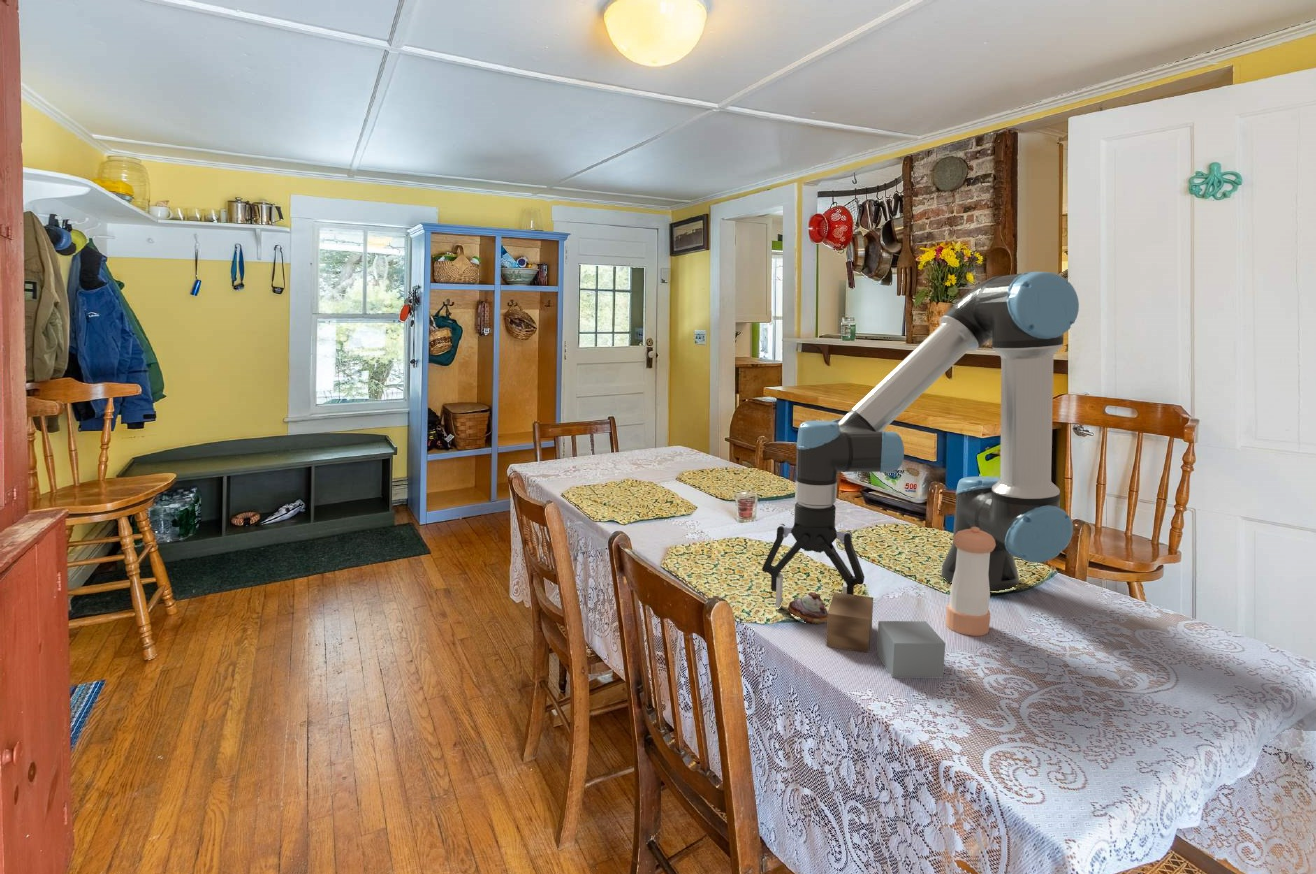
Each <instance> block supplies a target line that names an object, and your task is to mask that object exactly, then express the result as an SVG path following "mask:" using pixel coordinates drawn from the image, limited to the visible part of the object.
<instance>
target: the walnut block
mask: <svg viewBox="0 0 1316 874" xmlns="http://www.w3.org/2000/svg"><path fill="white" fill-rule="evenodd" d="M831 598H832V599H831V602H830V604H829V607H828V610H827V612H828V616H827V622H826V641H825V644H826V645H825V646H826V647H830V648H831V647H832V648H835V649H836V648H837V649H844V650H848V651H855V652H856V651H857V652H862V653H867V654H868V653H869V649H870V643H871V642H870V641H871V635H872V629H873V626H872V625H873V612H874V611H873V610H874V597H872V596H864V595H857V594H854V595H851V594H843V593H842V592H837V591H836V592H833V595H832V597H831Z"/></svg>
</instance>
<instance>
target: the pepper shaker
mask: <svg viewBox="0 0 1316 874" xmlns="http://www.w3.org/2000/svg"><path fill="white" fill-rule="evenodd" d="M953 542H954V545H955V547H957V556H956V568H955V572H954V576H953V580H952V584H950V591H949V593H950V594H949V603H948V604H947V606H946V617H945V618H946V619H945V625H946V626H947V628H948V629H950V630H952V631H953V632H956V633H958V634H961V635H966V636H972V637H973V636H975V637H976V636H984V635H986V634H988V633H989V632H990V621H991V612H990V610H989V609H990V608H989V606H990V599H991V593H990V588H989V576H988V572H989V559H990V552H992V551H993V550H994V548H995V546H996V543H995V540H994V538H993V536H992V535H990V534H988V533H986V532H984V531H981V530H980V529H979V528H978V527H971V529H965V530H961V531H958V532H957V533H956V534H955V535H954V538H953V537H952V543H953Z"/></svg>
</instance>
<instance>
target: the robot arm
mask: <svg viewBox="0 0 1316 874" xmlns="http://www.w3.org/2000/svg"><path fill="white" fill-rule="evenodd" d="M1077 294H1078V293H1077V292H1076V290H1075V287H1074V285H1072V283H1071V282H1069V281H1068V280H1067V279H1066V278H1065V277H1063V276H1062V275H1060V274H1058V273H1055V272H1050V271H1032V270H1031V271H1028V272H1022V273H1021V272H1020V273H1016V274H1014V273H1013V274H1007V275H1005V274H1003V275H997V276H994V277H990V278H988V279H986V280H984V281H982V282H981V283H979V284H977V285H976V286H975V287H973V288H972V289H971V290H970V291H968V292H967V293H965V294H964V295H963V296H962V298H960V299H959V300H958V301H957V302H956V303H954V305H952V306H951V308H949V310H947V311H946V312H945V313H944V314H943V315H942V316H941V317H940V318H939V326H937V328H935V330H934V331H932V332H931V334H929V335H928V336H927V337H926V338H925V339H924V340H922V342H921V343H920V344H919V345H918V346H917V347H916V348H915V349H913V351H911V352H910V353H909V354H908V355H907V356H906V357H905V358H904V359H903V360H902V361H901V362H900V363H899V364H898V365H897V366H896V367H895V368H893V370H891V371H890V372H889V373H888V374H887V375H886V376H885V377H884V378H883V379H882V380H881V381H880V382H879V383H877V384H876V385H875V386H874V387H873V388H872V390H870V391H869V392H868V393H867V394H866V395H865V396H864V397H863V398H862V399H861V400H859V402H857V403H856V405H855V406H853V408H851V409H850V410H849V411H848V412H847V413H846V414H845V415H844V416H843V417H841V418H837V419H836V418H835V419H833V420H818V419H817V420H806V421H803V422H801V423H800V424H799V427H798V432H797V440H796V476H795V477H796V478H795V490H794V491H795V496H794V497H795V498H794V499H795V501H796V503H795V504H794V519H793V520H794V521H793V526H788V525H786V524H784V523H780V524H779V526H778V527H777V529H776V539H775V541H774V543H773V544H772V546H771V549H770V550H769V553H768V555H767V556H766V558H765V561H764V563H763V566H762V567H761V570H762V572H764V573H768V574H769V575H770V589H771V592H776V593H775V608H776V607H778V608H779V607H780V605H781V603H782V604H783V587H784V584H783V583H784V581H783V580H784V573H782V572H781V571H782V570H783V569H784V568H785V567H786V566H787V564H789V562H790V561H791V560H792V559H793V558H794V556H795V555H796V554H797V553H798V552H799V551H800V550H801V549H802V550H804V552H814V553H820V554H821V553H822V552H824V554H825V555H826V556H827V558H829V559H830V561H831V563H832V564H833V566H834V567H835V569H836V570H837V572H838V573H839V575H840V576H841V577H842V579H843V584H842V592H841V593H843V594H851V595H855V594H854V593H855V586H857V585H863V584H864V582H865V574H864V572H863V569H862V567H861V566H862V565H861V564H860V561H859V558H858V554H857V553H856V550H855V547H854V545H853V539H852V538H853V533H852V531H851V530H846V531H838V530H836V529H837V528H836V508H837V507H836V505H835V503H836V502H837V490H838V489H837V486H838V485H837V484H838V473H883V472H884V473H885V472H886V473H887V472H895V471H897V470H899V469H900V468H901V467H902V465H903V463H904V458H905V457H904V456H905V445H904V442H903V441H904V440H903V439H902V437H901V436H900V434H899V433H897V432H895V431H886V430H885V429H886V428H887V427H888V426H889V425H890V424H891V423H893V421H895V420H896V419H897V418H898V417H899V416H900V415H901V414H902V413H904V411H905V410H906V409H907V408H908V407H910V406H911V405H912V404H913V403H914V401H916V400H917V399H918V398H919V397H920V396H921V395H922V394H923V393H925V392H926V391H927V390H928V389H929V388H930V387H931V386H932V385H933V384H934V383H935V382H936V381H937V380H939V378H941V377H942V376H943V375H944V374H945V373H946V372H947V371H948V370H949V369H950V368H952V367H953V365H955V364H956V363H957V362H958V361H959V360H960V359H961V358H962V357H963V356H964V355H965V354H966V353H967V352H975V351H977V350H978V349H979V348H980V347H981V346H983V344H985V343H987V342H989V341H990V340H991V343H992V346H991V347H992V350H993V351H994V352H996V354H998V356H1000V361H1001V363H1000V364H1001V367H1000V369H1001V370H1000V371H1001V372H1000V477H999V476H966V477H963V478H961V479H959V481H958V483H957V487H956V492H955V496H956V497H955V508H954V520H953V534H952V535H953V537H952V539H953V538H954V535H955V534H956V533H957V532H958V531H961V530H965V529H971V527H978V528H979V529H980V530H981V531H984V532H986V533H988V534H990V535H992V536H993V538H994V540H995V543H996V546H995V548H994V550H993V551H992V552H990V559H989V572H988V576H989V588H990V591H999V590H1005V589H1010V588H1012V587H1015V586H1016V585H1017V584H1018V585H1019V576H1020V575H1019V572H1018V568H1017V564H1016V561H1015V558H1017V559H1021V560H1023V561H1025V562H1028V563H1045V562H1048V561H1051V560H1054V559H1055V558H1056V557H1058V556H1059V555H1060V553H1061V552H1063V551H1065V550H1066V549H1067V547H1068V546H1069V544H1070V542H1071V540H1072V537H1073V533H1074V524H1073V520H1072V519H1071V516H1070V515H1069V514H1068V513H1067V512H1066V511H1065V510H1064V508H1060V506H1061V490H1060V488H1059V487H1058V486H1057V485H1056V484H1054V483H1053V482H1052V454H1053V453H1052V451H1053V448H1052V446H1053V399H1054V398H1053V397H1054V393H1053V392H1054V355H1055V354H1056V353H1057V352H1058V351H1059V350H1060V349H1061V348H1062V347H1064V335H1065V333H1067V332H1068V331H1069V330H1070V329H1071V326H1072V325H1073V324H1075V322H1076V320H1077V318H1078V314H1079V311H1080V309H1079V308H1080V306H1079V305H1080V302H1079V298H1078V297H1079V296H1078V295H1077ZM789 534H791V535H792V536H793V538H794V540H795V543H794V544H793V545H792V546H791V547H790V548H789V550H787V552H786V553H785V554H784V556H783V557H782V558H781V559H780V560H779V561H778V562H777V563H776V565H773V562H774V560H775V558H776V556H777V553H778V551H779V549H780V548H781V545H782V544H783V541H784V539H786V538H787V537H788V536H789ZM836 539H838V540H839V542H840V544H842V545H843V547H844V550H845V551H844V552H845V554H846V555H847V558H848V561H849V564H850V566H851V570H852V572H853V574H852V573H851V571H850V569H849V567H848V566H847V565H846V564H845V562H844V560H843V559H842V557H841V556H840V555H839V553H838V551H837V550H836V547H835V545H834V544H833V543H834V542H835V540H836ZM956 556H957V547H955V545H954V542H953V541H952V543H951V546H950V548H949V550H948V552H947V554H946V557H945V559H944V561H943V563H942V567H941V577H942V576H943V577H944V578H945V579H946V580H947V581H948V582H951V583H952V580H953V576H954V572H955V568H956ZM853 575H854V576H853ZM947 581H946V582H947ZM948 582H947V583H948ZM781 606H782V605H781Z"/></svg>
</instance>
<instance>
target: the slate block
mask: <svg viewBox="0 0 1316 874" xmlns="http://www.w3.org/2000/svg"><path fill="white" fill-rule="evenodd" d="M876 641H877V642H876V655H877V656H878V658H879V659H880V661H881V663H882V664H883V665H884V667H885V669H886V670H887V672H888V673H889V675H890V677H891V678H892V679H893V678H895V679H897V678H898V679H899V678H901V679H902V678H903V679H909V678H910V679H915V678H916V679H943V678H944V667H945V656H946V655H945V654H946V642H945V641H944V640H943V639H942V638H941V636H940V635H939V634H938V633H937V632H936V631H935V629H933V627H932V626H931V625H930V624H929V623H928V622H927V621H924V620H923V621H918V620H915V621H913V620H912V621H911V620H906V621H905V620H899V621H898V620H896V621H894V620H891V621H889V620H882V621H881V620H879V621H878V625H877V640H876Z"/></svg>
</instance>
